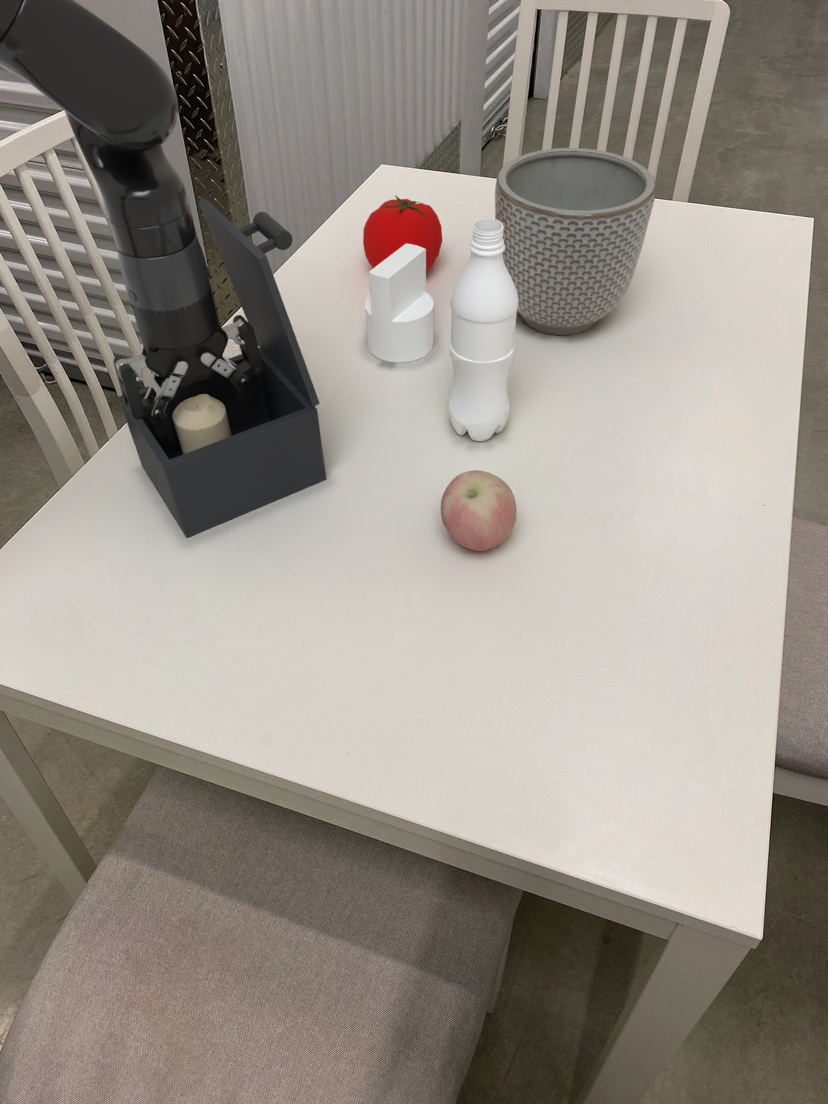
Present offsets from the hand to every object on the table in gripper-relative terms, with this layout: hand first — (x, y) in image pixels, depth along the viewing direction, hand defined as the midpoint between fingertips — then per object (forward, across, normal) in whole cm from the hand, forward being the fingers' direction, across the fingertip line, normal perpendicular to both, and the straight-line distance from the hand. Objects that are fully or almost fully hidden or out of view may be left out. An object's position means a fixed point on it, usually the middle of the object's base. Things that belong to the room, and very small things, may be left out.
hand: (206, 424), depth 87 cm
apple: (+8, -19, +24) cm, 31 cm away
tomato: (+8, -42, -28) cm, 51 cm away
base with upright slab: (+8, -31, -12) cm, 35 cm away
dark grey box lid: (-11, -8, 0) cm, 14 cm away
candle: (+7, 0, 0) cm, 7 cm away
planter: (+8, -54, -5) cm, 54 cm away
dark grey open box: (+8, -2, 0) cm, 8 cm away
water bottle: (+8, -30, +9) cm, 32 cm away
